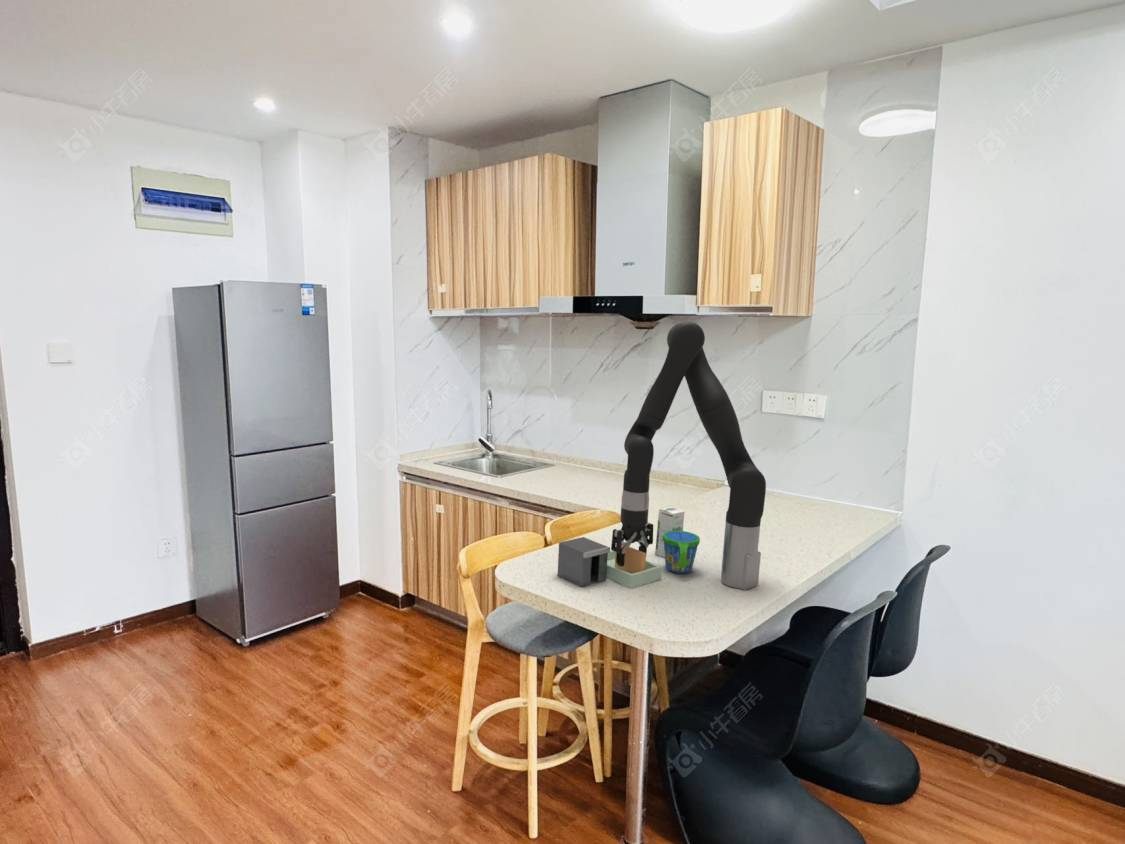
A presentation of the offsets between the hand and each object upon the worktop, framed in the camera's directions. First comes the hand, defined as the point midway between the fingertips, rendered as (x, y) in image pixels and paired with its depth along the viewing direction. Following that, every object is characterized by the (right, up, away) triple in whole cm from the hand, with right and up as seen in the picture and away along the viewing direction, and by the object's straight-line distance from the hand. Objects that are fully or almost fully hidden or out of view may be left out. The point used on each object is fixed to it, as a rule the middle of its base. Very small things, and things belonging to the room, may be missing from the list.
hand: (631, 562), depth 185 cm
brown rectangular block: (-1, -3, +1) cm, 3 cm away
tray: (-2, -4, +3) cm, 5 cm away
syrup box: (+13, -2, +20) cm, 24 cm away
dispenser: (-14, -4, -2) cm, 14 cm away
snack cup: (+15, -4, +8) cm, 17 cm away
